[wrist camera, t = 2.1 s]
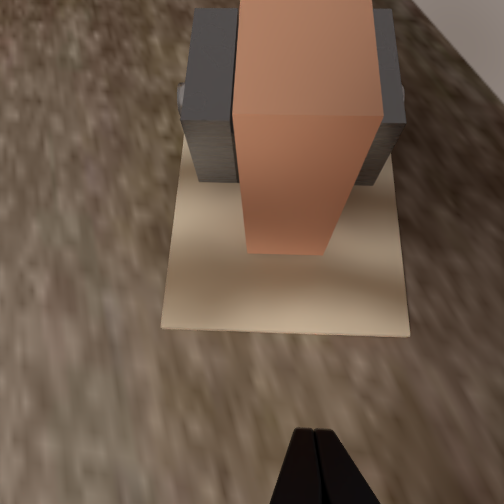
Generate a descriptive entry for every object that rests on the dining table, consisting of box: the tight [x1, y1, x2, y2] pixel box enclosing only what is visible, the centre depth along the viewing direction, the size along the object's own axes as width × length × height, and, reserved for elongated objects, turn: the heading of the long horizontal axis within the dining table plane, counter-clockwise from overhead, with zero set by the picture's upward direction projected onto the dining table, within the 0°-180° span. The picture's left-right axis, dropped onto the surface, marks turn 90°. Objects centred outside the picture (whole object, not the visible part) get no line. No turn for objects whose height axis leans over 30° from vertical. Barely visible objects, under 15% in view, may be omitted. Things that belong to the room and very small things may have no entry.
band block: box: [177, 8, 406, 186], centre depth 23 cm, size 8×13×6 cm, turn 88°
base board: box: [161, 134, 410, 337], centre depth 25 cm, size 19×14×1 cm
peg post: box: [232, 0, 384, 256], centre depth 18 cm, size 6×4×12 cm
